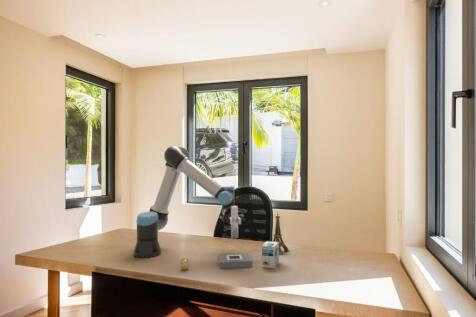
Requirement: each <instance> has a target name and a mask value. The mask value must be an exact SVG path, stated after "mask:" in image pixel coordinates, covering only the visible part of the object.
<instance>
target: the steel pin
mask: <svg viewBox="0 0 476 317" xmlns="http://www.w3.org/2000/svg"><path fill="white" fill-rule="evenodd" d="M238 214H239V207H238V205H235V206H231V218H232V225H231V224H230V231H231V232H230V237H231V239H238V238H239V223H238Z"/></svg>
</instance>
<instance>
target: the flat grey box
mask: <svg viewBox="0 0 476 317" xmlns="http://www.w3.org/2000/svg"><path fill="white" fill-rule="evenodd" d="M217 261H218V262H217V263H218V266H219V269H223V270H224V269H235V268H236V269H237V268H238V269H239V268H252V267H253V260H252V259H251V257H250V256H249V254H248V253H247V252H246V253H245V252H244V253H226V254H224V253H223V254H219V253H218V254H217Z"/></svg>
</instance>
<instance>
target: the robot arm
mask: <svg viewBox="0 0 476 317" xmlns="http://www.w3.org/2000/svg"><path fill="white" fill-rule="evenodd" d="M163 157H164V161H165V162H166V163H165V165H164V166H165V167H166V168H165V169H166V170H165V172H164V175H163V178H162V181H161V183H160V187H159V190H158V192H157V194H156V198H155V201H154V204H153V205H152V206H150V208H149V211H143V212H140V213H139V214H137V215H136V242H135V245H134V249H133V256H134V257H135V256H136V258H140V257H141V258H142V259H143V258H144V259H145V258H146V259H148V258H153V257H157V256H159V255H161V253H162V248H161V245H160V242H159V231H160V230H162V229H164V228H165V227H166V225H167V224H168V222H169V221H168V220H169V212H170V211H169V206H170V203H171V200H172V196H173V194H174V192H175V189H176V186H177V183H178V180H179V177H180V174H181V173H183V174H184V175H185V176H187V177H188V178H189V179H191V180H192V181H193V182H194V183H195V184H197V185H198V186H200V188H202V189H203V190H205V191H206V192H207V193H208V194H210V195H211V196H212V197H213V198H214V199H216V200H217V201H218V204H220V205H222V206H221V208H222V209H221V214H220V215H219V220H221V221H222V222H223V223H226V224H230V226H231V225H232V218H231V206H236V205H235V204H236V203H235V202H236V201H235V186H233V185H225V186H222V185H221V184H219V183H218V182H217V181H216V180H214V179H213V178H212V177H211V176H209V175H208V173H205V171H203V170H202V169H200V168H199V167H198V166H197V165H195V164H194V163H193V162H192V161H190V157H191V156H190V153H189V151H188V150H187V149H186V148H185V147H183V146H177V145H171V146H169V147H168V148H166V150H165V151H164V156H163ZM242 222H245V215H244V213H241V214H239V213H238V225H242Z"/></svg>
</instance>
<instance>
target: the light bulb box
mask: <svg viewBox="0 0 476 317" xmlns="http://www.w3.org/2000/svg"><path fill="white" fill-rule="evenodd" d="M261 254H262V255H261V260H262V261H261V264H262V268H267V269H268V268H269V269H276V267H277V266H278V265H279V263H280V255H279V242H273V241H270V240H266V241H265V242H264V243H263V244H262V246H261Z"/></svg>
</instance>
